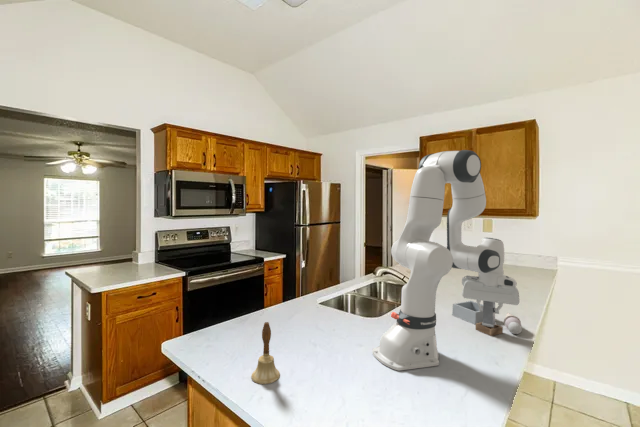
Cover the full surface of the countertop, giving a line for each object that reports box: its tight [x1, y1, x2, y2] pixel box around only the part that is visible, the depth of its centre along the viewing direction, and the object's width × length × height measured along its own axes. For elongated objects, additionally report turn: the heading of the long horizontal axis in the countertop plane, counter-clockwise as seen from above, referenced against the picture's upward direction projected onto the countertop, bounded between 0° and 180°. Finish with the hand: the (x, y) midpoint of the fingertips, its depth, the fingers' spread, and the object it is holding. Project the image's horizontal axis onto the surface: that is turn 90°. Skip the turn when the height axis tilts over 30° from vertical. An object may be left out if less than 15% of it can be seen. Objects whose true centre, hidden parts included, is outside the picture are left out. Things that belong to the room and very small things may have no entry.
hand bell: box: [250, 321, 281, 385], centre depth 91 cm, size 8×8×16 cm
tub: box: [451, 300, 483, 326], centre depth 141 cm, size 12×12×5 cm
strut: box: [482, 301, 497, 328], centre depth 127 cm, size 4×4×13 cm
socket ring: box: [475, 322, 504, 337], centre depth 126 cm, size 7×7×2 cm
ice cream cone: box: [503, 312, 522, 335], centre depth 129 cm, size 6×6×15 cm
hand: (488, 312), depth 126 cm, fingers closed on strut, 4 cm apart
